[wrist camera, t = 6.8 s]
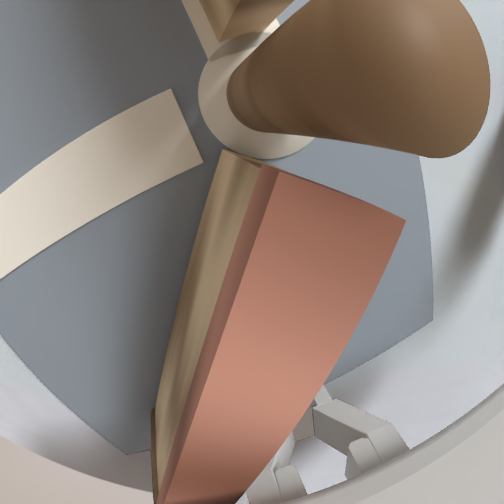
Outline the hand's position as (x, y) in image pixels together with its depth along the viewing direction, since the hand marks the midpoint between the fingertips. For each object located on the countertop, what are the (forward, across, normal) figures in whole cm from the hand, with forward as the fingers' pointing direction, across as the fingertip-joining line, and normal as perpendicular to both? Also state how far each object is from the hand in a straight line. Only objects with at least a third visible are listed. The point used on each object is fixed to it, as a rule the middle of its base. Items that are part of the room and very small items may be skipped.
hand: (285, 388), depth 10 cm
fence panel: (+2, +2, -2) cm, 4 cm away
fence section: (+2, 0, -15) cm, 15 cm away
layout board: (+2, +2, -8) cm, 9 cm away
